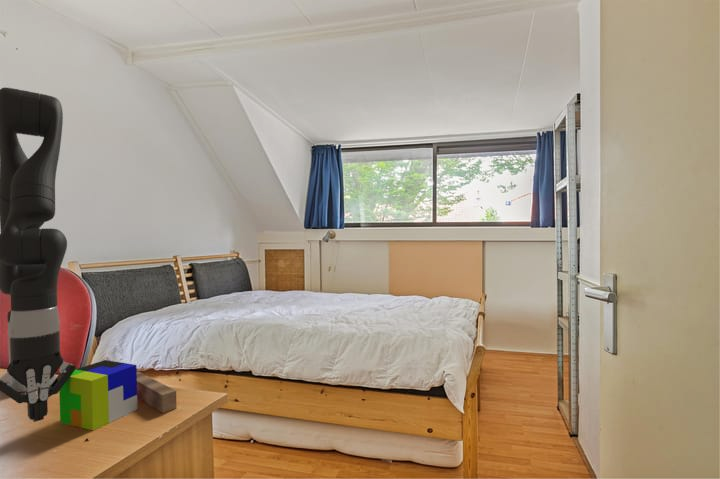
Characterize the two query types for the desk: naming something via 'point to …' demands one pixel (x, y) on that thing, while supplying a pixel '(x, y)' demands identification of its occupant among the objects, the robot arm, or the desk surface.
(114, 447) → the desk surface
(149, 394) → the block
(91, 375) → the puzzle toy
